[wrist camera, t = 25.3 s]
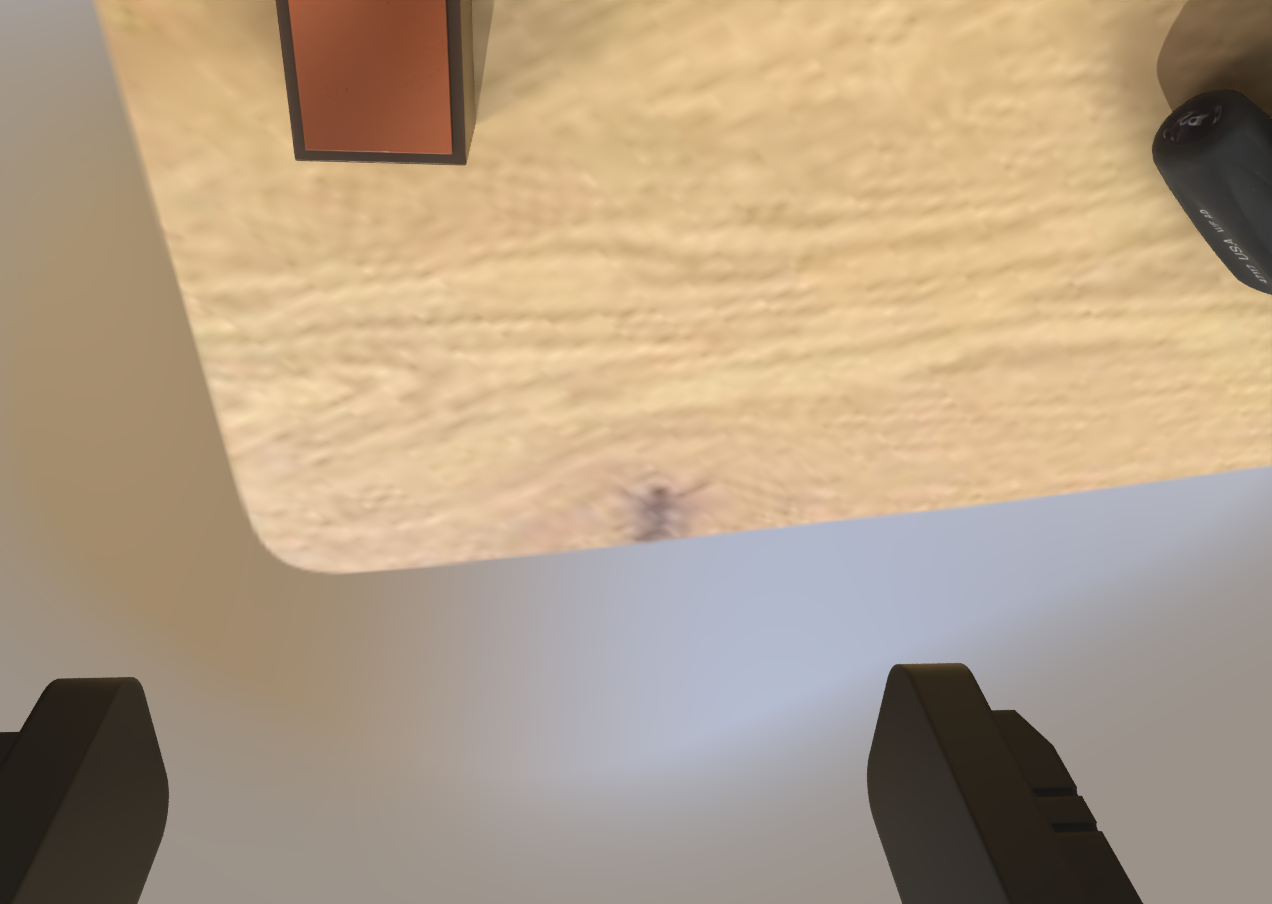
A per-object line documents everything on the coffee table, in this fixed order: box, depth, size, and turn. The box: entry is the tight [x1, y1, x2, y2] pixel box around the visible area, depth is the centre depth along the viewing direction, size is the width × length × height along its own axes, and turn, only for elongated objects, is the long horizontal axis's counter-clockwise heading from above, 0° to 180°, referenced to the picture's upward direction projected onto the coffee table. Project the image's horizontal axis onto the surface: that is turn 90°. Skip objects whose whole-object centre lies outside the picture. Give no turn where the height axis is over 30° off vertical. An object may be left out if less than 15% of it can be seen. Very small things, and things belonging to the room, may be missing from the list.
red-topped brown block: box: [276, 0, 475, 165], centre depth 28 cm, size 4×4×5 cm
